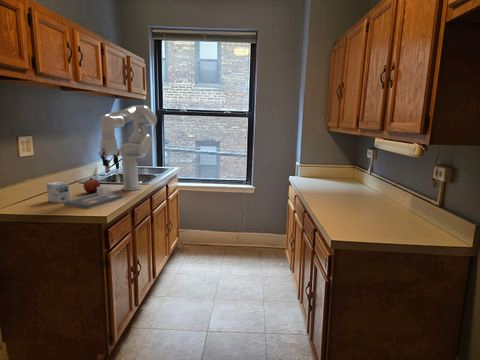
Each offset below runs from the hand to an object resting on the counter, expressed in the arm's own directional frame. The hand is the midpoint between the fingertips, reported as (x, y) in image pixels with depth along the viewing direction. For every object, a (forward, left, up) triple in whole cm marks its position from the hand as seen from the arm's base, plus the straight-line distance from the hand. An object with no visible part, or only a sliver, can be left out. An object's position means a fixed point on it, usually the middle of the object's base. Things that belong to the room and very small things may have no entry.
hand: (110, 164), depth 199 cm
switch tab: (+8, 0, -18) cm, 19 cm away
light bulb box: (+22, -20, -20) cm, 36 cm away
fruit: (-2, -19, -20) cm, 28 cm away
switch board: (+15, 0, -20) cm, 25 cm away
